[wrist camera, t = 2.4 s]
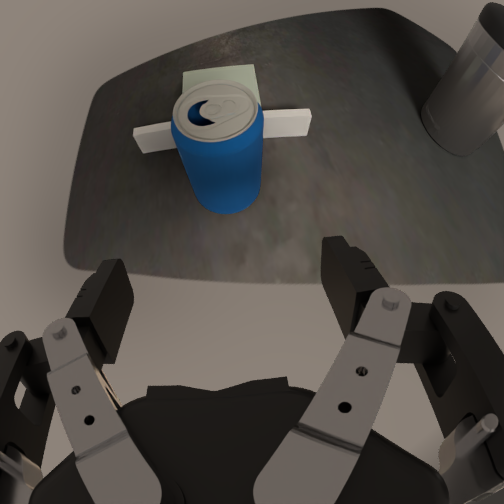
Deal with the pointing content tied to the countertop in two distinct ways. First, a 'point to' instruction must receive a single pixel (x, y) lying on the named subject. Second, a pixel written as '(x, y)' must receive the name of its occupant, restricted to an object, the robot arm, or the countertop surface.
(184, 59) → the countertop surface
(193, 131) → the beverage can
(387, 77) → the countertop surface
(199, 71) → the mat
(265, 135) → the low wall
